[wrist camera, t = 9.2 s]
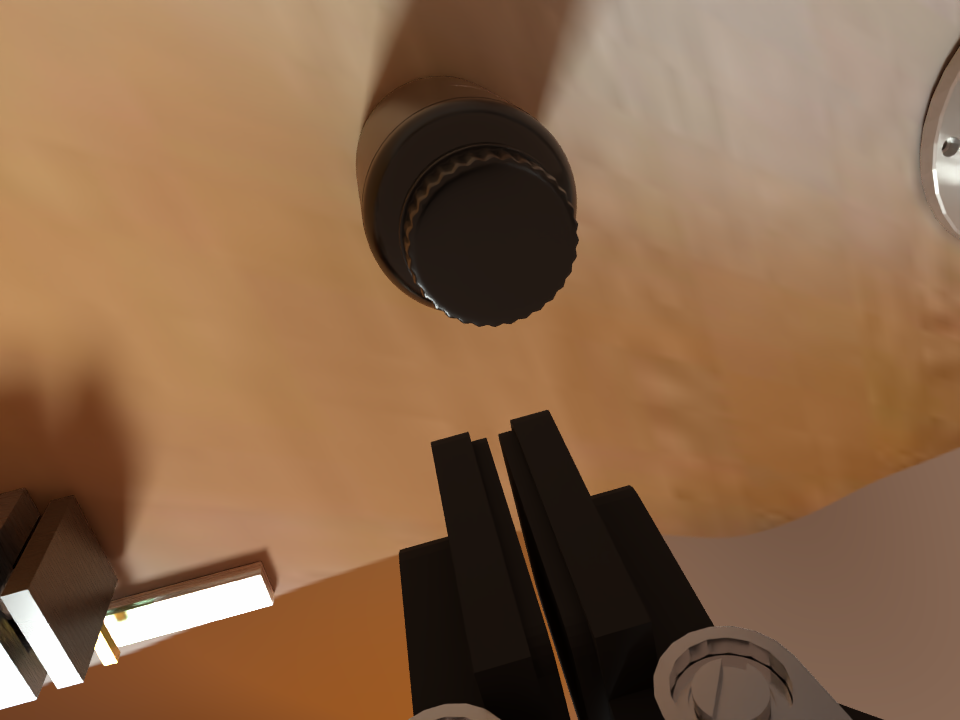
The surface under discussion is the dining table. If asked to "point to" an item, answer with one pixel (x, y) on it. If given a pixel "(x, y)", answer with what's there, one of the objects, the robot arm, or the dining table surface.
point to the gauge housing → (118, 605)
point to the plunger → (62, 594)
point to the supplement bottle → (466, 201)
